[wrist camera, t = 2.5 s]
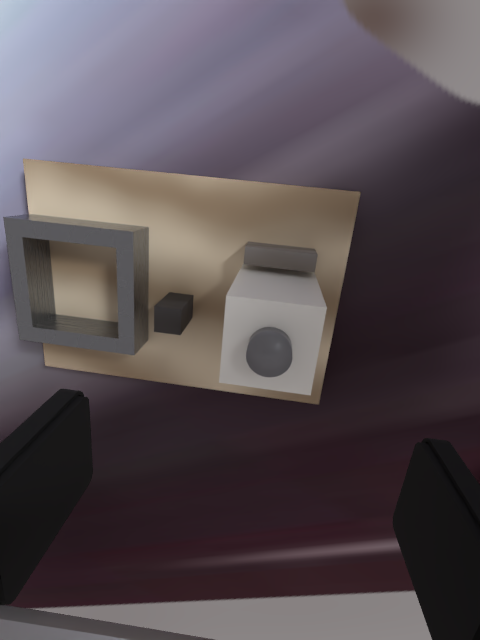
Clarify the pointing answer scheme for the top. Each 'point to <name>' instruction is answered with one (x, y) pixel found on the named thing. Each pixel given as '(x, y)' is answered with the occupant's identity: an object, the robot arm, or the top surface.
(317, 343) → the plug
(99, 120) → the top surface
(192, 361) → the board
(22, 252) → the frame
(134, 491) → the top surface
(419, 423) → the top surface
